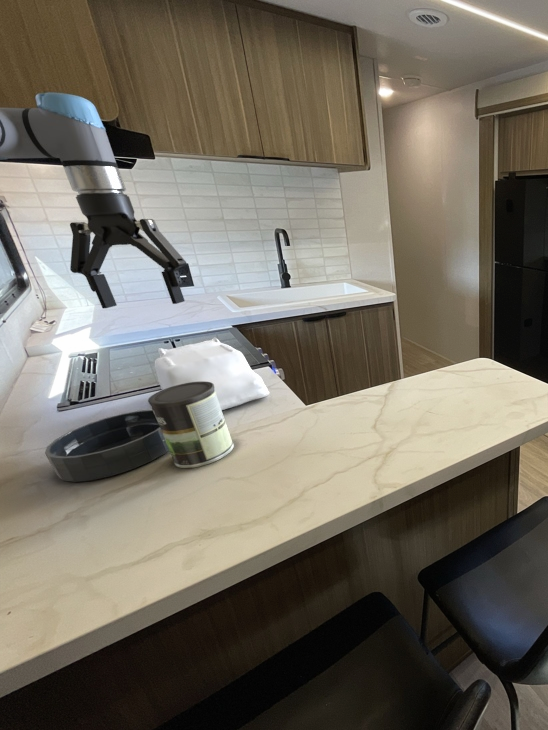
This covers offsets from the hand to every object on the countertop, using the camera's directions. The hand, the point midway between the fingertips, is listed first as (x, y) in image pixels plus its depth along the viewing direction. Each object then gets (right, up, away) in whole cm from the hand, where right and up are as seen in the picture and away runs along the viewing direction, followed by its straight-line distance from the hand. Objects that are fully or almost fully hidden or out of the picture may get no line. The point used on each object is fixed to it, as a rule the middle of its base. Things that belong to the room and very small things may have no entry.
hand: (144, 304), depth 84 cm
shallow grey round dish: (-5, -31, 0) cm, 32 cm away
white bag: (-4, -21, +26) cm, 34 cm away
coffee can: (+14, -31, -1) cm, 34 cm away
